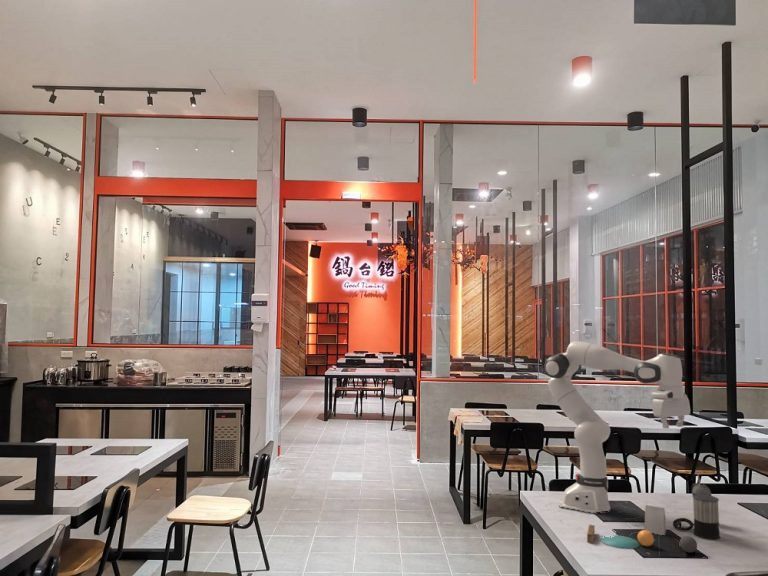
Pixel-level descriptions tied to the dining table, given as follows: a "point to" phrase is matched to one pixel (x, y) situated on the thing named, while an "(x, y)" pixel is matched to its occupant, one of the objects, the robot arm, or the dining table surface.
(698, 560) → the dining table surface
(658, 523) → the white carton box
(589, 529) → the wall
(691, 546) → the gray ball
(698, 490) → the beverage cup
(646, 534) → the orange ball
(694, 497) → the milk frother
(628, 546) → the teal ellipsoid
